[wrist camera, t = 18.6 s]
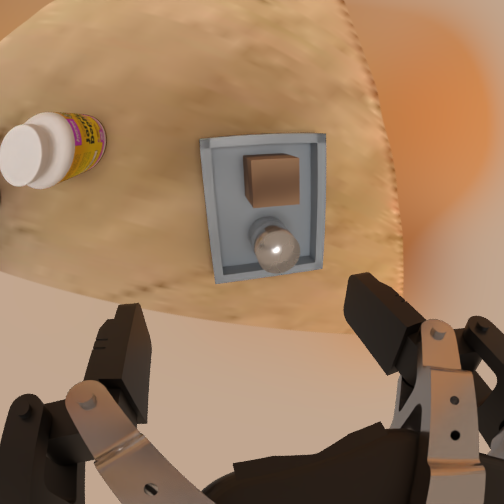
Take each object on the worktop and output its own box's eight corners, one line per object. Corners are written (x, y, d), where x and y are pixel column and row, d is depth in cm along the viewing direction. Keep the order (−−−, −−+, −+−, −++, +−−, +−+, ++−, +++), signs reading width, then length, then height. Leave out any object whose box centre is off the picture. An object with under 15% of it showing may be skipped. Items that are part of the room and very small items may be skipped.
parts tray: (214, 271, 35) (215, 284, 32) (199, 138, 28) (199, 139, 25) (313, 258, 36) (322, 268, 34) (314, 132, 29) (325, 133, 27)
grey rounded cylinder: (249, 253, 33) (258, 276, 28) (246, 218, 31) (256, 236, 26) (285, 249, 34) (299, 270, 29) (284, 214, 32) (300, 230, 27)
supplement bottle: (119, 141, 26) (68, 152, 15) (81, 183, 27) (22, 218, 15) (85, 102, 23) (22, 93, 12) (49, 145, 24) (-20, 162, 12)
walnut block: (242, 155, 28) (250, 160, 24) (283, 153, 29) (299, 157, 24) (245, 196, 30) (253, 208, 26) (284, 192, 31) (299, 204, 26)
